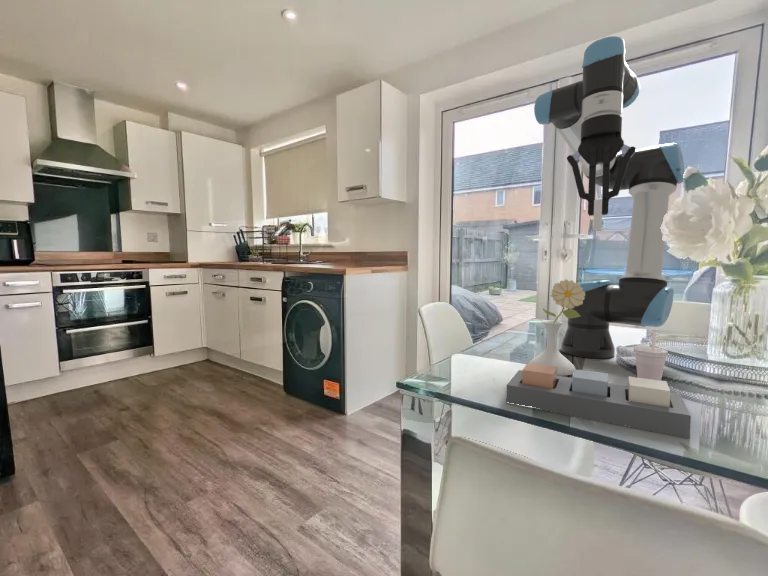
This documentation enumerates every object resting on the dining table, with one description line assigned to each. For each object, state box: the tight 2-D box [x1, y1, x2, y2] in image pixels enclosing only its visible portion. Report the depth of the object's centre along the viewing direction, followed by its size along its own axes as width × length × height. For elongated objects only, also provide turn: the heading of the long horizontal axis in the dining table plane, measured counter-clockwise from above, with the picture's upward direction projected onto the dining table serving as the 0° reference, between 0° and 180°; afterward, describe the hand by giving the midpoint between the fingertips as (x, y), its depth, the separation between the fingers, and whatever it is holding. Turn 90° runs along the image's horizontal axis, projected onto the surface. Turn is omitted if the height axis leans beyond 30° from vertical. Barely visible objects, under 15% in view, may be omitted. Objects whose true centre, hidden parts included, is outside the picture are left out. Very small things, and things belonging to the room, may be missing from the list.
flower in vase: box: [528, 279, 585, 377], centre depth 96 cm, size 13×11×25 cm
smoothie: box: [632, 329, 669, 381], centre depth 84 cm, size 6×6×14 cm
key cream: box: [627, 376, 671, 407], centre depth 69 cm, size 6×6×5 cm
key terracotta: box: [522, 362, 557, 389], centre depth 79 cm, size 6×6×5 cm
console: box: [505, 369, 692, 440], centre depth 74 cm, size 12×30×4 cm, turn 58°
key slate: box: [571, 368, 609, 397], centre depth 74 cm, size 6×6×5 cm
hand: (597, 230), depth 80 cm, fingers closed
